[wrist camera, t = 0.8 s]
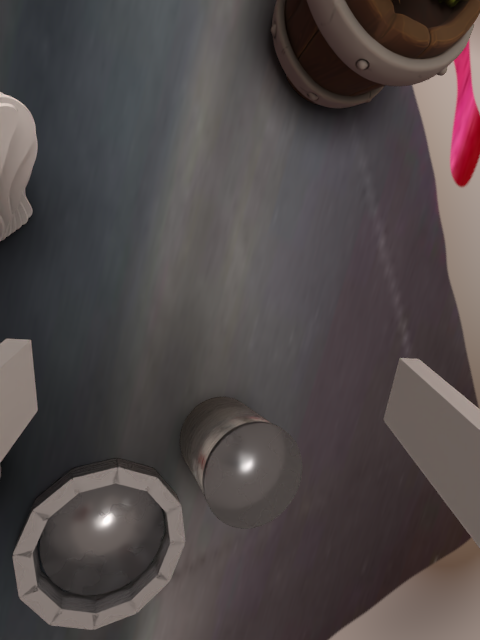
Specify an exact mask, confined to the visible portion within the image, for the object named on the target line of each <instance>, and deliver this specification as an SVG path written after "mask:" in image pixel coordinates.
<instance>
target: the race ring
mask: <svg viewBox="0 0 480 640" xmlns="http://www.w3.org/2000/svg"><path fill="white" fill-rule="evenodd" d="M160 506H161V507H162V509H163V510H164V515H165V523H166V533H165V535H164V538H163V540H162V537H163V530H164V519H163V514H162V510H161V507H160ZM41 533H42V535H41ZM40 536H41V540H40V558H41V562H42V565H43V568H44V570H45V572H46V574H47V575H48V577H49V578H50V579H51V580H52V581H51V580H50V579H49V578H48V577H47V576H46V575H45V574H44V573H43V572H42V571H41V568H40V562H39V555H38V548H37V542H38V540H39V538H40ZM161 541H162V543H161ZM160 544H161V545H160ZM184 545H185V533H184V525H183V516H182V508H181V504H180V501H179V499H178V497H177V494H176V493H175V492H174V491H173V490H172V488H171V487H170V486H169V485H168V484H167V483H166V481H165V480H164V479H163V478H162V477H161V476H160V475H159V473H158V472H157V471H156V470H155V469H154V468H152V467H148V466H145V465H141V464H137V463H134V462H130V461H126V460H123V459H119V458H117V459H116V458H114V459H110V460H105V461H101V462H97V463H93V464H89V465H84V466H80V467H76V468H74V469H72V470H70V471H69V472H68V473H67V474H65V475H64V476H63V477H62V478H60V479H59V480H58V481H57V482H55V483H54V484H53V485H52V486H51V487H49V488H48V489H47V490H46V491H44V492H43V493H42V494H41V495H39V496H38V497H37V498H36V499H35V502H34V504H33V506H32V508H31V510H30V513H29V515H28V517H27V519H26V522H25V524H24V526H23V528H22V531H21V533H20V535H19V537H18V539H17V543H16V546H15V549H14V552H13V563H14V569H15V575H16V581H17V588H18V594H19V597H20V599H21V600H22V601H23V602H24V603H25V604H26V605H28V606H29V607H30V608H31V609H32V610H33V611H34V612H35V613H37V614H38V615H39V616H40V617H41V618H42V619H43V620H45V621H46V622H47V623H48V624H49V625H50V624H51V625H53V626H62V627H71V628H80V629H90V630H93V628H94V630H95V629H97V628H100V627H102V626H105V625H108V624H110V623H113V622H115V621H118V620H121V619H123V618H126V617H128V616H131V615H134V614H136V612H137V613H138V612H139V611H140V610H141V609H142V608H143V607H144V606H145V605H146V604H147V603H148V602H149V601H150V600H151V599H152V598H153V597H154V596H155V595H156V594H157V593H158V592H159V591H160V590H161V589H162V588H164V587H165V586H166V585H167V584H168V583H169V581H170V580H171V577H172V575H173V572H174V570H175V567H176V565H177V562H178V560H179V557H180V555H181V553H182V550H183V548H184ZM159 547H160V548H159ZM158 549H159V550H158ZM157 551H158V553H157ZM156 553H157V555H156ZM155 555H156V557H155ZM154 557H155V560H154V561H153V562H152V563H151V561H152V560H153V558H154ZM150 563H151V564H150ZM149 564H150V565H149ZM148 565H149V566H148ZM132 580H133V581H132ZM131 581H132V582H131ZM130 582H131V583H130ZM128 583H130V584H128ZM126 584H128V585H126ZM57 585H58V586H59V587H60V588H62V589H64V590H66V591H69V592H63V591H62V590H61V589H60V588H59V587H58V586H57ZM125 585H126V586H125ZM70 592H71V593H70ZM98 594H100V595H98ZM92 595H97V596H92Z"/></svg>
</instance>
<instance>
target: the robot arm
mask: <svg viewBox="0 0 480 640" xmlns="http://www.w3.org/2000/svg"><path fill="white" fill-rule="evenodd" d="M37 411H38V407H37V397H36V386H35V376H34V366H33V355H32V345H31V340H25V339H6V340H4V341H3V342H2V343H1V344H0V463H1V461H2V460H3V458H4V457H5V456H6V454H7V453H8V451H9V450H10V449H11V447H12V446H13V444H14V443H15V442H16V440H17V439H18V437H19V436H20V435H21V433H22V432H23V430H24V429H25V428H26V426H27V425H28V423H29V422H30V421H31V419H32V418H33V416H34V415H35V414H36V412H37ZM384 422H385V423H386V424H387V426H388V427H389V428H390V430H391V431H392V432H393V434H394V435H395V436H396V438H397V439H398V440H399V442H400V443H401V444H402V446H403V447H404V448H405V450H406V451H407V452H408V454H409V455H410V456H411V458H412V459H413V460H414V462H415V463H416V464H417V466H418V467H419V468H420V469H421V471H422V472H423V473H424V475H425V476H426V477H427V479H428V480H429V481H430V483H431V484H432V485H433V487H434V488H435V489H436V491H437V492H438V493H439V495H440V496H441V497H442V499H443V500H444V501H445V503H446V504H447V505H448V507H449V508H450V509H451V511H452V512H453V513H454V515H455V516H456V517H457V519H458V520H459V521H460V523H461V524H462V525H463V527H464V528H465V529H466V531H467V532H468V533H469V535H470V536H471V537H472V538H473V540H474V541H475V542H476V544H477V545H478V546H479V548H480V409H479V408H477V407H476V406H475V405H474V404H473V403H471V402H470V401H469V400H468V399H466V398H465V397H464V396H463V395H462V394H460V393H459V392H458V391H457V390H456V389H454V388H453V387H452V386H451V385H450V384H448V383H447V382H446V381H445V380H444V379H442V378H441V377H440V376H439V375H437V374H436V373H435V372H434V371H433V370H431V369H430V368H429V367H428V366H427V365H425V364H424V363H423V362H422V361H421V360H419V359H408V358H400V359H399V363H398V367H397V370H396V374H395V378H394V382H393V386H392V390H391V393H390V397H389V401H388V405H387V409H386V412H385V416H384Z"/></svg>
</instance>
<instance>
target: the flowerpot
mask: <svg viewBox="0 0 480 640" xmlns="http://www.w3.org/2000/svg"><path fill="white" fill-rule="evenodd" d="M479 13H480V0H277V1H276V4H275V8H274V13H273V19H272V28H271V33H272V35H273V42H274V47H275V51H276V54H277V57H278V59H279V61H280V64H281V66H282V68H283V70H284V71H285V73H286V75H287V80H288V82H289V83H290V85H291V86H292V87H293V88H294V90H295V91H296V92H297V93H298V94H299V95H300V96H302V97H303V98H304V99H306V100H308V101H310V102H312V103H314V104H317V105H321V106H325V107H329V108H347V107H352V106H355V105H359V104H362V103H364V102H366V103H368V102H370V101H371V99H372V98H373V97H374V96H376V95H377V94H378V93H379V92H380V91H381V90H382V89H383V87H384V86H386V85H389V86H407V85H413V84H416V83H420V82H423V81H425V80H427V79H429V78H431V77H433V76H435V75H436V74H437V75H444V74H445V73H446V71H447V66H448V65H449V64H450V63H451V62H452V61H454V60H455V59H456V58H457V57H458V56H459V54H460V53H461V52H462V51H463V49H464V48H465V46H466V44H467V42H468V40H469V38H470V35H471V33H472V30H473V27H474V24H473V23H474V22H475V20H476V19H477V17H478V15H479Z"/></svg>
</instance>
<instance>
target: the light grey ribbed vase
mask: <svg viewBox="0 0 480 640" xmlns="http://www.w3.org/2000/svg"><path fill="white" fill-rule="evenodd" d="M37 148H38V145H37V137H36V127H35V122H34V119H33V117H32V115H31V113H30V111H29V110H28V109H27V108H26V107H25V105H23V104H22V103H21V102H20V101H18V100H17V99H15V98H13V97H11V96H8V95H5V94H3V93H1V92H0V241H1V240H4V239H5V238H6V237H8V236H10V234H11V233H14V232H15V231H16V229H19V228H20V227H21V226H22V225H24V224H26V223H27V221H28V218H29V217H31V215H32V212H33V210H32V207H31V205H30V203H29V201H28V199H27V198H26V194H25V187H26V186H27V184H28V181H29V179H30V176H31V172H32V168H33V165H34V163H35V159H36V155H37Z"/></svg>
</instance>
